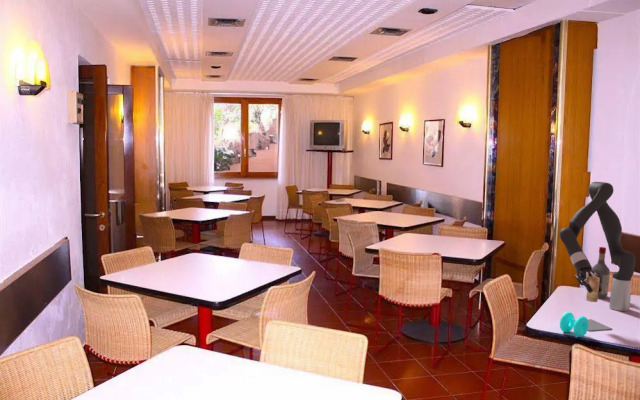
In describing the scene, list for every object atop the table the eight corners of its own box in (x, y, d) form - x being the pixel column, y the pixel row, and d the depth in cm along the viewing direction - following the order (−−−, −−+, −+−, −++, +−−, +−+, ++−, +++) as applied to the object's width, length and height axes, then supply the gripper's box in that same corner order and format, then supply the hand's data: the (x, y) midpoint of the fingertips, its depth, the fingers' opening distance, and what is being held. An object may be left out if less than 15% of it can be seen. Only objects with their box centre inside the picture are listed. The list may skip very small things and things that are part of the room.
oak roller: (592, 298, 279) (594, 275, 277) (599, 301, 274) (602, 278, 272) (584, 299, 277) (586, 276, 276) (591, 302, 272) (593, 278, 271)
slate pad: (591, 320, 285) (591, 319, 285) (612, 329, 272) (612, 328, 272) (568, 321, 281) (568, 320, 281) (589, 331, 268) (589, 330, 268)
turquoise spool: (577, 339, 256) (579, 319, 255) (557, 332, 264) (559, 313, 263) (588, 335, 262) (590, 315, 261) (568, 329, 270) (570, 309, 269)
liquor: (608, 296, 331) (613, 247, 328) (603, 299, 325) (609, 249, 321) (591, 293, 337) (596, 245, 334) (587, 296, 330) (592, 247, 327)
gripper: (573, 259, 278) (588, 288, 268) (596, 258, 282) (612, 287, 272) (565, 266, 284) (579, 296, 274) (588, 265, 288) (603, 294, 278)
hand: (595, 291), depth 273 cm, fingers closed on oak roller, 5 cm apart
